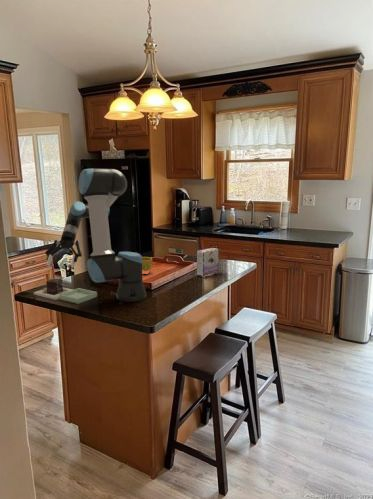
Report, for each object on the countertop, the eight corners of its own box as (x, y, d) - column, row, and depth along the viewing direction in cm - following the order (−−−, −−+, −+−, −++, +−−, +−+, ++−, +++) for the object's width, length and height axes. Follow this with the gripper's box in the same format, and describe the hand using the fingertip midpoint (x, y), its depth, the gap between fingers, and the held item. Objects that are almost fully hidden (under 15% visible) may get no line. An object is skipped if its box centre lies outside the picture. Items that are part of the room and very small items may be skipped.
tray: (97, 296, 193) (96, 292, 192) (78, 304, 182) (77, 299, 181) (78, 292, 199) (78, 288, 199) (59, 299, 188) (59, 294, 188)
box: (57, 295, 194) (56, 282, 193) (46, 295, 195) (45, 281, 194) (63, 292, 200) (62, 278, 198) (53, 291, 201) (52, 278, 200)
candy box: (211, 272, 240) (212, 247, 236) (218, 274, 235) (219, 248, 232) (196, 276, 231) (196, 250, 227) (203, 278, 226) (203, 251, 223)
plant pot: (148, 276, 230) (148, 261, 228) (133, 275, 234) (132, 259, 232) (155, 272, 240) (154, 257, 238) (140, 271, 243) (140, 256, 241)
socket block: (76, 292, 199) (76, 289, 199) (54, 299, 188) (54, 296, 187) (55, 287, 207) (55, 284, 207) (33, 294, 196) (33, 291, 195)
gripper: (92, 238, 217) (84, 270, 205) (51, 237, 219) (40, 269, 208) (88, 231, 211) (79, 263, 199) (46, 230, 213) (34, 262, 202)
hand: (59, 266), depth 203 cm, fingers open, 13 cm apart
